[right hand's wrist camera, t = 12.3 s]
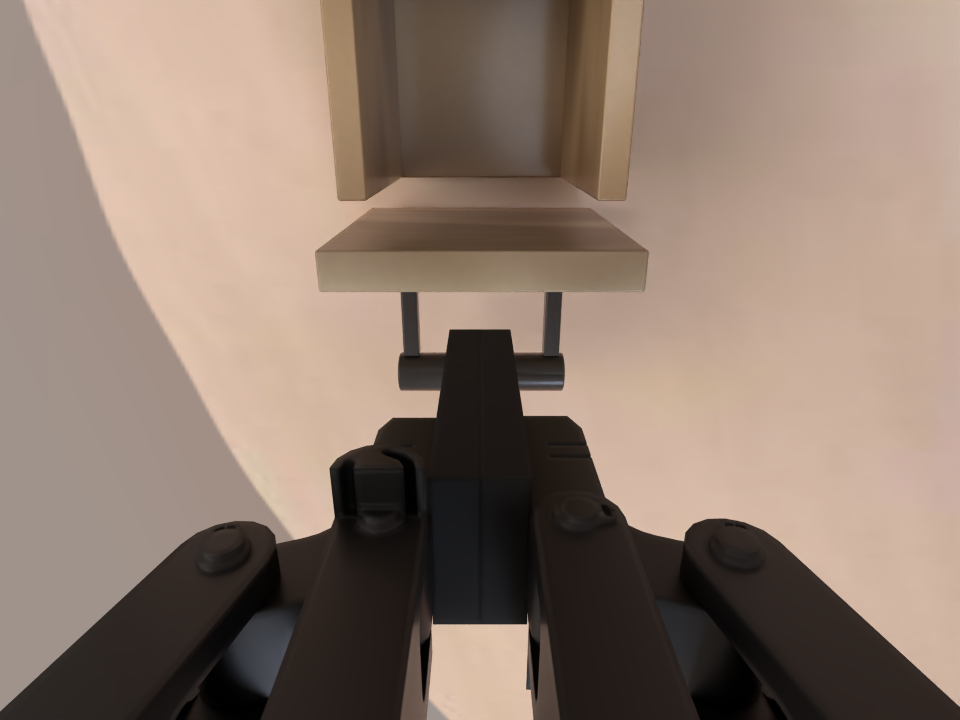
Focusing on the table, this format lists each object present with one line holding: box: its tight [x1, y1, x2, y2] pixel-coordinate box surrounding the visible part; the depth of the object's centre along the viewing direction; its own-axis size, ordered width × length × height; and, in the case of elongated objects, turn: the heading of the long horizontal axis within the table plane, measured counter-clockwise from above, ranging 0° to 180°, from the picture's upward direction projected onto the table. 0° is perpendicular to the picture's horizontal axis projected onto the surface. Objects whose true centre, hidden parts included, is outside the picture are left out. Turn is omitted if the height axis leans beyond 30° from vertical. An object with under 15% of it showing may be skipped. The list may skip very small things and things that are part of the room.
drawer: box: [315, 0, 649, 391], centre depth 18 cm, size 24×9×9 cm, turn 0°
